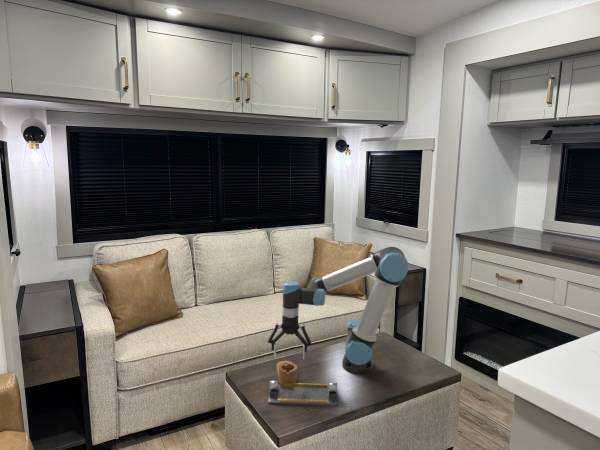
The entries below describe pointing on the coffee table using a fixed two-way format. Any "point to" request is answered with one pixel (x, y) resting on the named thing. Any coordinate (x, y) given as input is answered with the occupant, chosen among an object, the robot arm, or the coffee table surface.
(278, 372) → the bracket
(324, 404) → the coupling bench
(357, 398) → the coffee table surface
